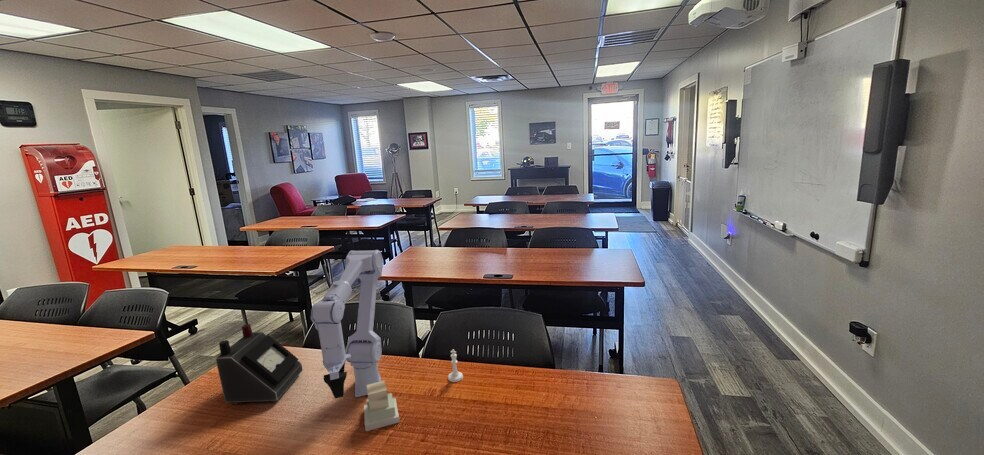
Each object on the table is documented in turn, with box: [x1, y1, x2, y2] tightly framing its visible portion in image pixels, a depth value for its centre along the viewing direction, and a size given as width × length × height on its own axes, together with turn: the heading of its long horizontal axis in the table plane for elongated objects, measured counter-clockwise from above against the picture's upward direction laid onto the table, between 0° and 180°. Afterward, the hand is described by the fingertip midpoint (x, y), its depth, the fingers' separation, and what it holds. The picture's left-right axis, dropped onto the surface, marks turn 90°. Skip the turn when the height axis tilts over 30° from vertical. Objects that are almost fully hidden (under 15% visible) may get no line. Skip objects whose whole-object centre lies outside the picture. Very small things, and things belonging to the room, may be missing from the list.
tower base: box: [363, 397, 400, 432], centre depth 114 cm, size 9×9×2 cm
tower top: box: [366, 392, 395, 422], centre depth 113 cm, size 7×7×2 cm
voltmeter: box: [214, 323, 304, 404], centre depth 128 cm, size 16×16×20 cm
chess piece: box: [447, 348, 464, 383], centre depth 129 cm, size 5×5×10 cm
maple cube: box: [367, 380, 389, 411], centre depth 112 cm, size 5×5×5 cm
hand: (339, 388), depth 110 cm, fingers open, 7 cm apart
